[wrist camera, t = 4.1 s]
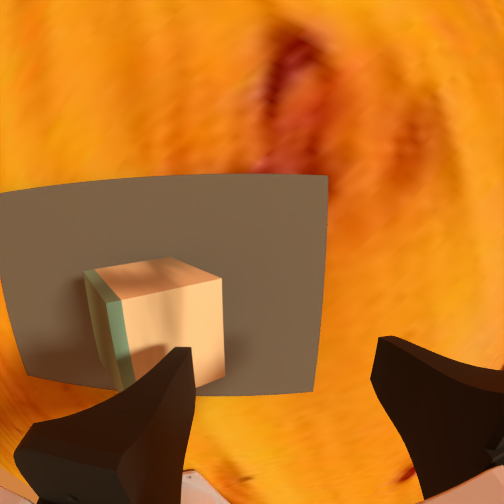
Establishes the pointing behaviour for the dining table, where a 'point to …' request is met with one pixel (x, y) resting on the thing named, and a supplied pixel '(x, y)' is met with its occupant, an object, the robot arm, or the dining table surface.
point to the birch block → (156, 318)
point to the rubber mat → (181, 248)
